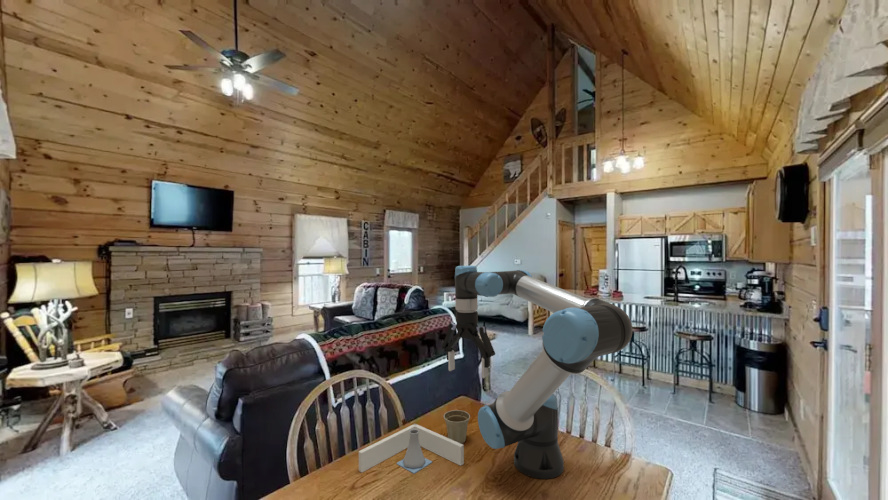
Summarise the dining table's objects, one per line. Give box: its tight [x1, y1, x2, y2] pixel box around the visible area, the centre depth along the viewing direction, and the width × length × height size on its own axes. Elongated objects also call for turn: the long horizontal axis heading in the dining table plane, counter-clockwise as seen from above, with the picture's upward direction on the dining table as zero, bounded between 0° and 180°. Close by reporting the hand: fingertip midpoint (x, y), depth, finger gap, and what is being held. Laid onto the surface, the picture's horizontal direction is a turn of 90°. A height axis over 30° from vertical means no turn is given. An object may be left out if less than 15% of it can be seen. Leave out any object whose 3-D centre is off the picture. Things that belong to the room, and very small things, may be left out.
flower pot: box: [443, 409, 471, 444], centre depth 134 cm, size 9×9×9 cm
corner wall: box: [358, 423, 465, 473], centre depth 117 cm, size 22×24×6 cm
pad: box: [396, 457, 433, 475], centre depth 119 cm, size 8×8×1 cm
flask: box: [402, 429, 426, 468], centre depth 119 cm, size 7×7×10 cm
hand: (467, 373), depth 128 cm, fingers open, 13 cm apart
